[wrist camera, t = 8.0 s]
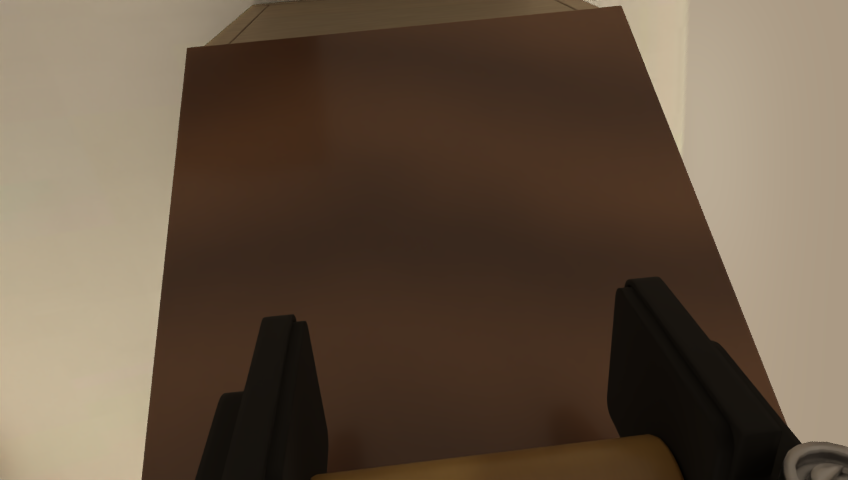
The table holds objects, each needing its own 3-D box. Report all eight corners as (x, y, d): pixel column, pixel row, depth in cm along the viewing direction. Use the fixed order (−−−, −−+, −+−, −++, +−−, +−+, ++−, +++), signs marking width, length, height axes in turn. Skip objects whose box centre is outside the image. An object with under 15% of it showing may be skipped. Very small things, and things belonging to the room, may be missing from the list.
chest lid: (843, 621, 13) (1086, 631, 8) (133, 716, 12) (-65, 787, 8) (616, 23, 22) (666, -145, 17) (194, 65, 21) (121, -95, 16)
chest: (531, 260, 40) (592, 390, 30) (307, 285, 40) (285, 427, 29) (530, -22, 33) (614, 12, 22) (252, 4, 32) (194, 53, 21)
